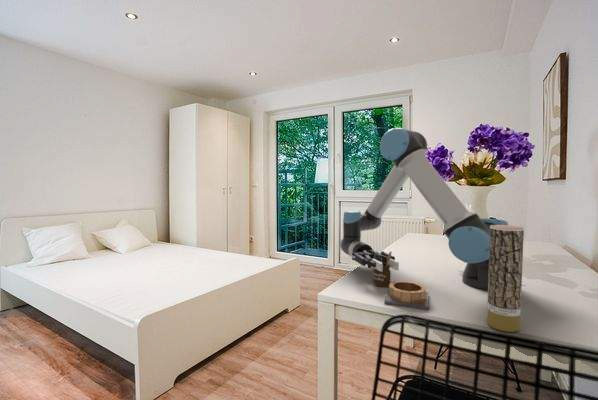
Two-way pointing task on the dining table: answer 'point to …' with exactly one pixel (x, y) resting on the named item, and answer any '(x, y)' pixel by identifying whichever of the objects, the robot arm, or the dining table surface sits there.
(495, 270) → the paper tube
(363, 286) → the dining table surface
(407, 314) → the dining table surface
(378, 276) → the utensil holder
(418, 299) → the collar plate
